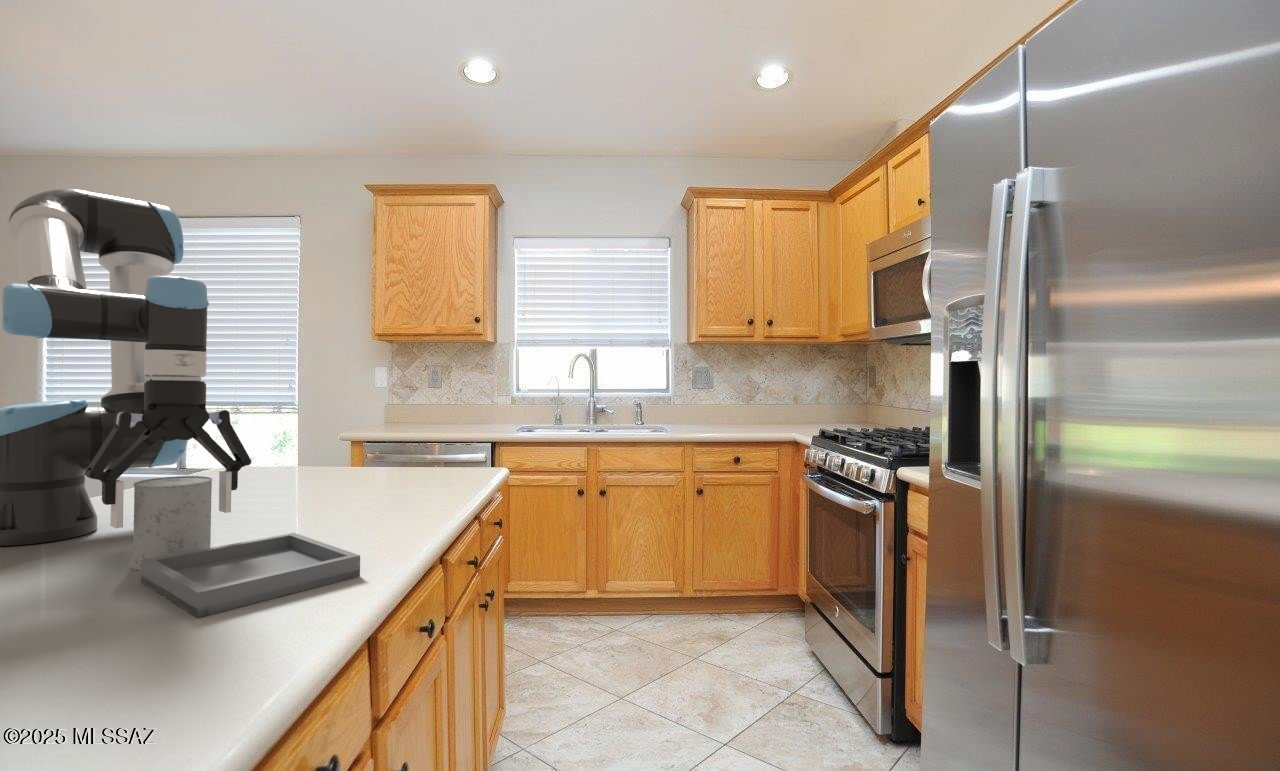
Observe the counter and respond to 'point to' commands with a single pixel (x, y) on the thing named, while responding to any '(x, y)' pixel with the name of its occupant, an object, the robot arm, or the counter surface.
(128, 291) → the robot arm
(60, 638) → the counter surface
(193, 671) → the counter surface
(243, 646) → the counter surface
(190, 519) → the speckled white tin can
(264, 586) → the tray
